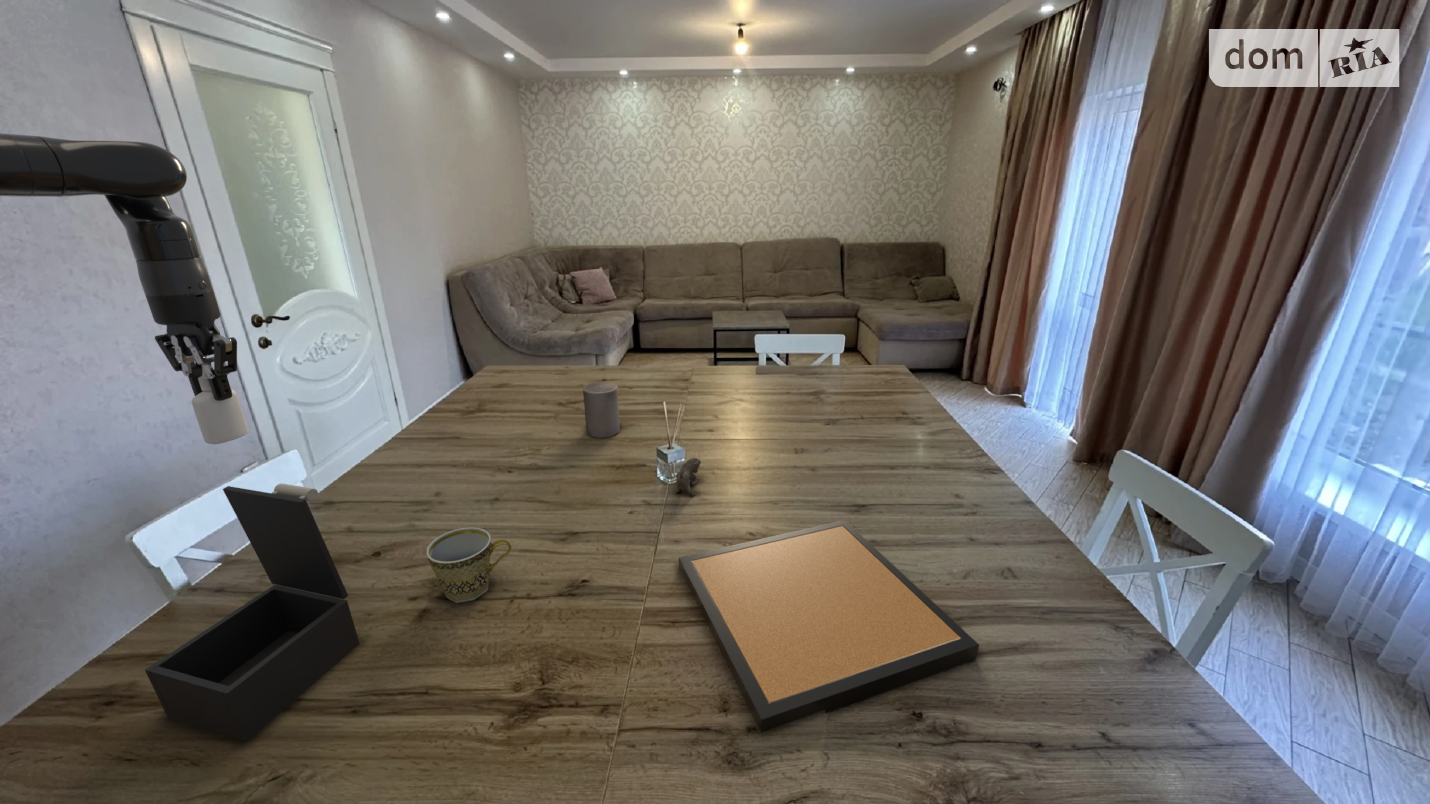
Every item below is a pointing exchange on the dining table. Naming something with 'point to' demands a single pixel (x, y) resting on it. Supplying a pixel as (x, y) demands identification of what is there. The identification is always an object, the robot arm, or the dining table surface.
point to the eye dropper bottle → (218, 415)
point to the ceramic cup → (463, 562)
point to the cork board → (818, 621)
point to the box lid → (287, 538)
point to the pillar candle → (601, 409)
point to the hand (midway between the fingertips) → (214, 397)
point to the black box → (254, 661)
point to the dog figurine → (687, 476)
